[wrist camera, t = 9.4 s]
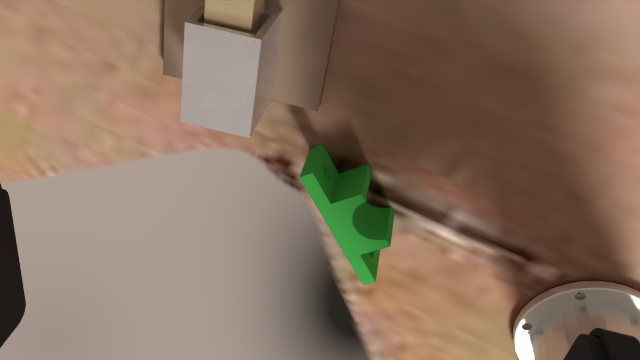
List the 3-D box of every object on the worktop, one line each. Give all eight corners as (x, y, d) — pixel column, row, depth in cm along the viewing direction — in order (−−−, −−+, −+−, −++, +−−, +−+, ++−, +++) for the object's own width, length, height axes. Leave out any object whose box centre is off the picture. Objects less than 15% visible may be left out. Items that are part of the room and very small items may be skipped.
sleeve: (283, 9, 42) (261, 39, 37) (270, 99, 46) (249, 138, 41) (215, -7, 42) (184, 21, 37) (208, 85, 46) (180, 121, 41)
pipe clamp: (408, 238, 52) (405, 274, 48) (369, 249, 54) (363, 285, 50) (352, 131, 47) (344, 162, 44) (310, 147, 49) (298, 178, 45)
